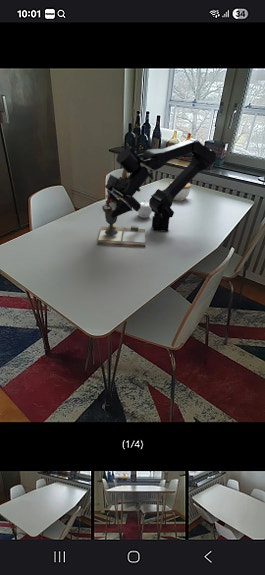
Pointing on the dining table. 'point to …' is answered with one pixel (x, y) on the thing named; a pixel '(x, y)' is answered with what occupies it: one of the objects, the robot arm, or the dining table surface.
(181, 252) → the dining table surface
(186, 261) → the dining table surface
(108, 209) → the sundae
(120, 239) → the board
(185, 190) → the lidded jar
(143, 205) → the plain white apple
